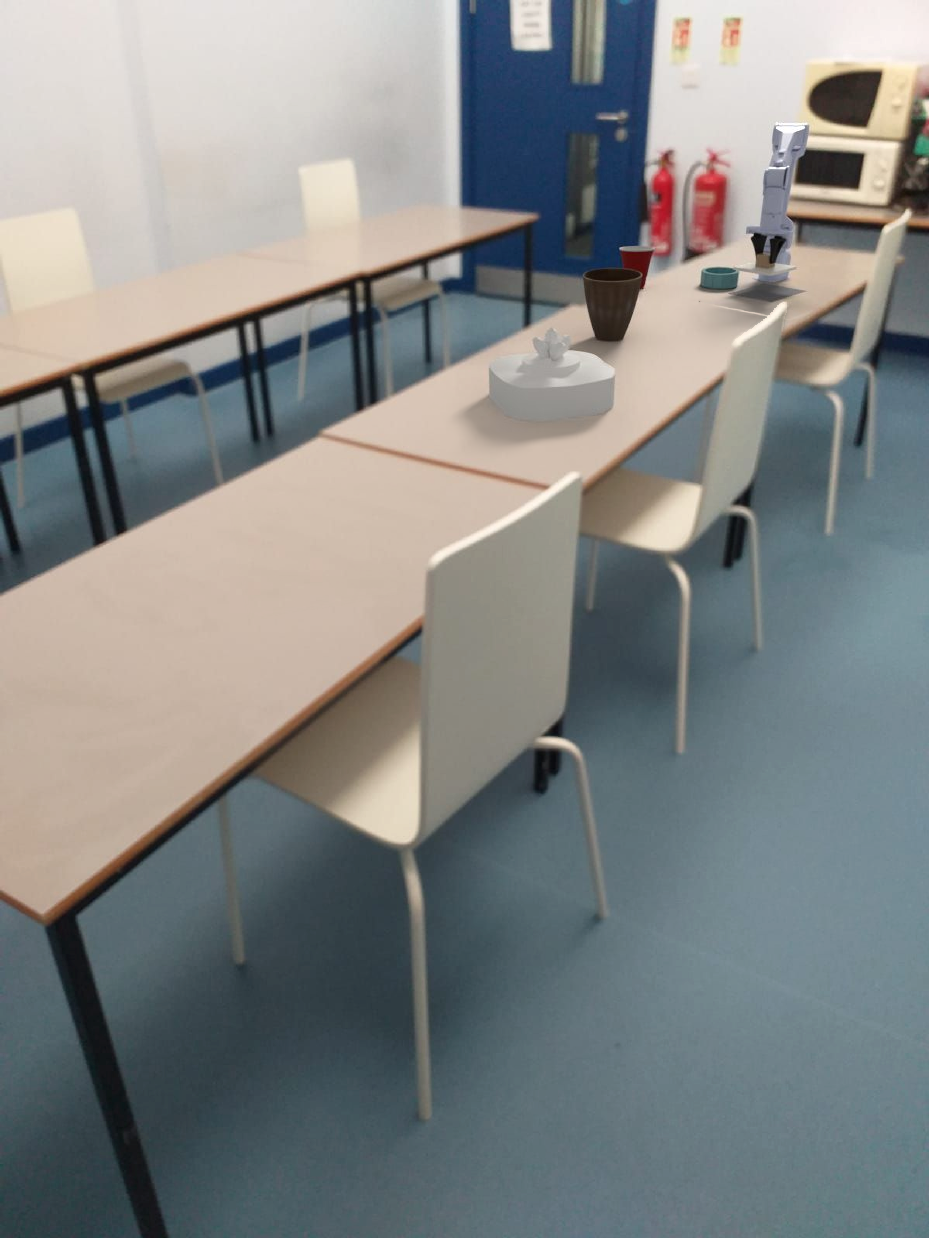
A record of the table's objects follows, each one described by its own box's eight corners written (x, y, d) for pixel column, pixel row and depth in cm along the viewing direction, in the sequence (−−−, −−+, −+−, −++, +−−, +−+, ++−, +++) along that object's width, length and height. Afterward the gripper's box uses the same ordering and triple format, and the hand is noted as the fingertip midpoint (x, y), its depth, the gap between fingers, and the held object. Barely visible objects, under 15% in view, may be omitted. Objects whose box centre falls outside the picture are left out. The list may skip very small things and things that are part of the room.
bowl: (715, 282, 305) (716, 265, 302) (744, 287, 297) (746, 270, 295) (693, 287, 299) (694, 271, 296) (722, 293, 291) (724, 276, 289)
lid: (758, 263, 294) (760, 248, 292) (796, 269, 285) (798, 254, 283) (732, 269, 287) (734, 254, 284) (770, 276, 278) (773, 260, 276)
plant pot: (644, 344, 247) (648, 279, 239) (586, 347, 247) (588, 282, 238) (631, 329, 260) (635, 266, 252) (576, 331, 260) (578, 269, 251)
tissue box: (626, 412, 205) (630, 336, 197) (514, 427, 200) (513, 349, 191) (583, 378, 226) (585, 308, 217) (480, 390, 220) (478, 319, 212)
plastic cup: (651, 283, 305) (654, 243, 299) (653, 291, 296) (656, 249, 290) (616, 283, 306) (618, 243, 300) (617, 291, 297) (619, 250, 291)
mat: (763, 285, 298) (763, 283, 298) (806, 292, 288) (806, 291, 288) (727, 295, 289) (727, 293, 288) (770, 303, 279) (771, 301, 278)
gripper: (742, 212, 280) (736, 261, 288) (785, 217, 271) (779, 267, 278) (756, 208, 284) (750, 257, 291) (800, 214, 275) (793, 263, 282)
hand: (765, 262), depth 285 cm, fingers closed on lid, 4 cm apart
